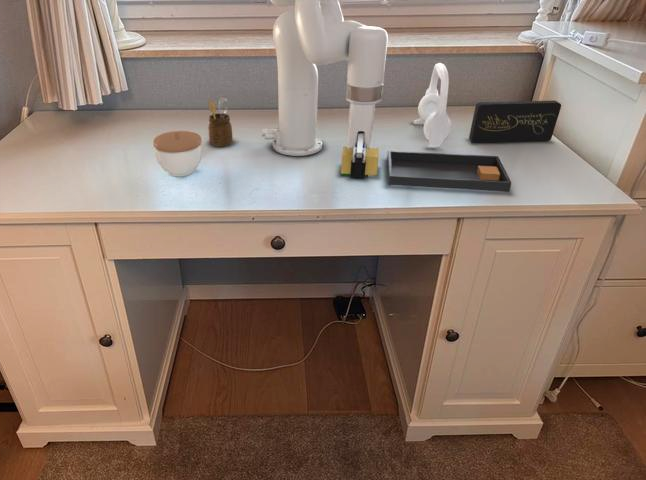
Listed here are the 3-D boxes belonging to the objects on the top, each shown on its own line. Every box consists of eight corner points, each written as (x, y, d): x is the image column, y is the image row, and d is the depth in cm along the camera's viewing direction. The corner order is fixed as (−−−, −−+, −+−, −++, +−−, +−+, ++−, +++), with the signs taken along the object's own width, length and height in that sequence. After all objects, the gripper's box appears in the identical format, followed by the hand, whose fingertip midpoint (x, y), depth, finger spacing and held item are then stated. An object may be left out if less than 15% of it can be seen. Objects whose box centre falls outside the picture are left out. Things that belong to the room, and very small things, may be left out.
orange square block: (479, 179, 113) (481, 173, 112) (476, 172, 116) (478, 165, 115) (498, 180, 113) (500, 174, 112) (495, 173, 116) (496, 166, 115)
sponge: (340, 175, 117) (342, 155, 114) (341, 166, 121) (343, 146, 118) (376, 177, 116) (378, 157, 113) (376, 168, 120) (378, 148, 117)
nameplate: (547, 138, 134) (558, 100, 128) (550, 141, 133) (562, 102, 127) (468, 140, 133) (476, 102, 127) (470, 143, 132) (479, 104, 126)
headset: (448, 151, 128) (463, 77, 117) (419, 150, 128) (431, 76, 118) (438, 123, 144) (450, 56, 133) (413, 122, 145) (423, 55, 134)
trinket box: (154, 165, 122) (148, 127, 116) (198, 159, 125) (194, 121, 119) (162, 184, 114) (155, 143, 108) (209, 176, 117) (205, 136, 111)
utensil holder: (237, 141, 134) (234, 94, 127) (224, 149, 130) (220, 101, 123) (218, 137, 136) (214, 91, 129) (204, 145, 132) (200, 98, 125)
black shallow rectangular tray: (388, 187, 112) (389, 176, 110) (386, 160, 123) (388, 150, 122) (508, 194, 109) (511, 182, 107) (495, 166, 120) (498, 156, 119)
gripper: (348, 80, 115) (343, 156, 126) (344, 104, 101) (339, 187, 112) (381, 81, 114) (374, 157, 125) (382, 105, 100) (374, 189, 111)
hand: (357, 170), depth 118 cm, fingers open, 6 cm apart
